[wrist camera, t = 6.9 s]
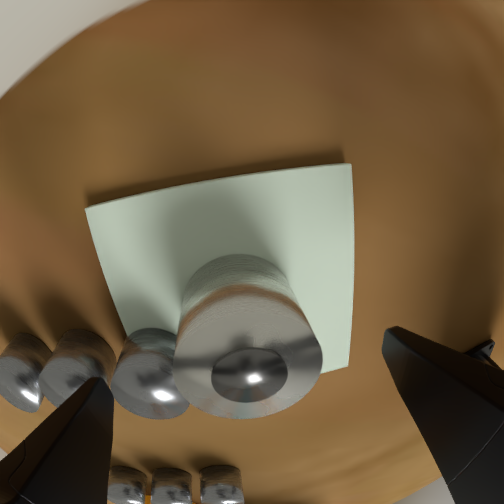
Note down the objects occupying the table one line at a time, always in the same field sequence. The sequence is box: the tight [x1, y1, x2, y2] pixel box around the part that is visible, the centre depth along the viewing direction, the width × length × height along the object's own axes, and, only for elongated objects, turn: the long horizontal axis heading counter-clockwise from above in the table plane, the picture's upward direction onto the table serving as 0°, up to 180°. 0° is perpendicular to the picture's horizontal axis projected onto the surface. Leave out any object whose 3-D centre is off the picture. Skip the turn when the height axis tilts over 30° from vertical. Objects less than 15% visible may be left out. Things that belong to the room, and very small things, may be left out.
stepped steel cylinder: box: [172, 254, 323, 419], centre depth 10 cm, size 4×4×4 cm
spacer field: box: [0, 328, 244, 504], centre depth 14 cm, size 11×17×3 cm, turn 8°
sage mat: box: [85, 163, 354, 374], centre depth 12 cm, size 10×10×1 cm
